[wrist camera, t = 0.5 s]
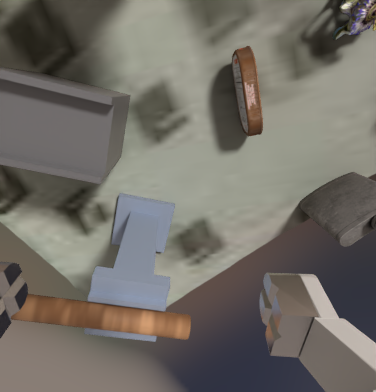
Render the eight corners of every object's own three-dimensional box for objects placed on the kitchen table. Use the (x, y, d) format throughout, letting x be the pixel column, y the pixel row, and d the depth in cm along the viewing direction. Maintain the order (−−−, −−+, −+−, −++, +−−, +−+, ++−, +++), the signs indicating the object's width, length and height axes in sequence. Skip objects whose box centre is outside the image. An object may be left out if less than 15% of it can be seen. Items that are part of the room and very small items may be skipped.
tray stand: (38, 138, 52) (-21, 160, 35) (41, 73, 48) (-25, 63, 31) (120, 156, 54) (100, 184, 38) (130, 95, 50) (112, 97, 34)
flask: (295, 199, 61) (344, 241, 44) (354, 166, 59) (428, 197, 42) (301, 211, 62) (351, 256, 45) (359, 180, 60) (433, 214, 43)
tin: (254, 130, 54) (268, 137, 46) (239, 134, 54) (251, 141, 46) (243, 49, 49) (257, 41, 41) (226, 53, 49) (237, 46, 41)
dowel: (19, 307, 34) (6, 324, 31) (20, 287, 33) (7, 303, 31) (184, 327, 37) (186, 345, 35) (189, 310, 37) (191, 326, 34)
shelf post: (112, 240, 61) (73, 344, 36) (120, 193, 57) (82, 273, 32) (163, 249, 63) (160, 353, 38) (174, 203, 59) (179, 287, 34)
